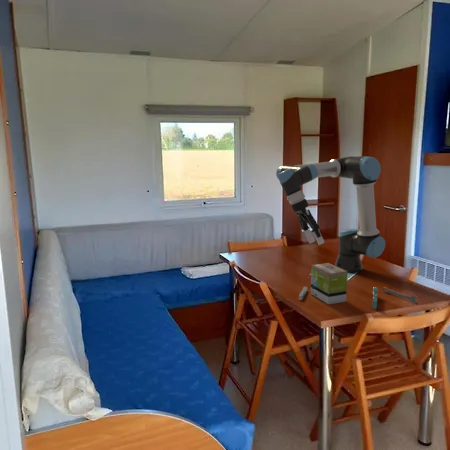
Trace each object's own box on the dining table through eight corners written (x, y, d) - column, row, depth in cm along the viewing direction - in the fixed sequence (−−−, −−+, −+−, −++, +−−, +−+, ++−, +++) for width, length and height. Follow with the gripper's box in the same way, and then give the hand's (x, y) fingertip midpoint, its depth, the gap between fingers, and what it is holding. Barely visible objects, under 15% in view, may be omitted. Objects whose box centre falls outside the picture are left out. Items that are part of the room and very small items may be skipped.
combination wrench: (382, 285, 202) (417, 297, 184) (384, 285, 202) (419, 296, 185) (381, 293, 202) (417, 305, 185) (383, 292, 203) (419, 305, 185)
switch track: (304, 289, 206) (304, 280, 205) (377, 297, 195) (377, 287, 194) (298, 300, 191) (298, 290, 190) (376, 309, 180) (377, 298, 179)
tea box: (309, 294, 200) (310, 264, 197) (327, 291, 203) (328, 262, 201) (328, 305, 186) (329, 272, 183) (346, 302, 189) (348, 270, 187)
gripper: (284, 206, 205) (302, 245, 206) (298, 203, 180) (318, 248, 181) (297, 199, 206) (315, 238, 207) (313, 196, 181) (333, 240, 182)
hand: (316, 243), depth 194 cm, fingers open, 13 cm apart
